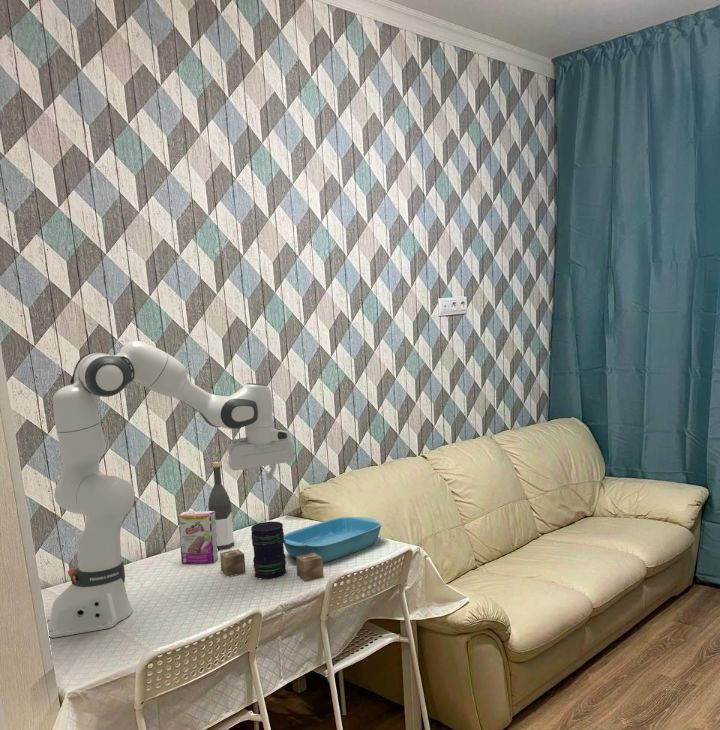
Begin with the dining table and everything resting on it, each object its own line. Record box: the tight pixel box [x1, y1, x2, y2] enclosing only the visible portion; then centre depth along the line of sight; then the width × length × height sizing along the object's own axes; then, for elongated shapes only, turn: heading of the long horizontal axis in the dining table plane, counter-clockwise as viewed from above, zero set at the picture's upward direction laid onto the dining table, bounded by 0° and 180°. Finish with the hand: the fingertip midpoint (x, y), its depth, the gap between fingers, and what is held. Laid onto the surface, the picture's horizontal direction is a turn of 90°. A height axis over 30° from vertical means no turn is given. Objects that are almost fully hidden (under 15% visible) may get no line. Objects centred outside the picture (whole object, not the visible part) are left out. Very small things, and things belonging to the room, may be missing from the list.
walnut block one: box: [295, 553, 324, 583], centre depth 211 cm, size 6×6×6 cm
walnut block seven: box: [219, 548, 246, 577], centre depth 220 cm, size 6×6×6 cm
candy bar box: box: [177, 510, 219, 565], centre depth 232 cm, size 11×5×16 cm, turn 84°
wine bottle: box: [207, 461, 235, 550], centre depth 246 cm, size 8×8×30 cm
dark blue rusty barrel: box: [250, 521, 287, 580], centre depth 216 cm, size 10×10×15 cm
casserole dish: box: [283, 516, 382, 564], centre depth 236 cm, size 37×22×7 cm, turn 136°
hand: (263, 480), depth 214 cm, fingers open, 3 cm apart
